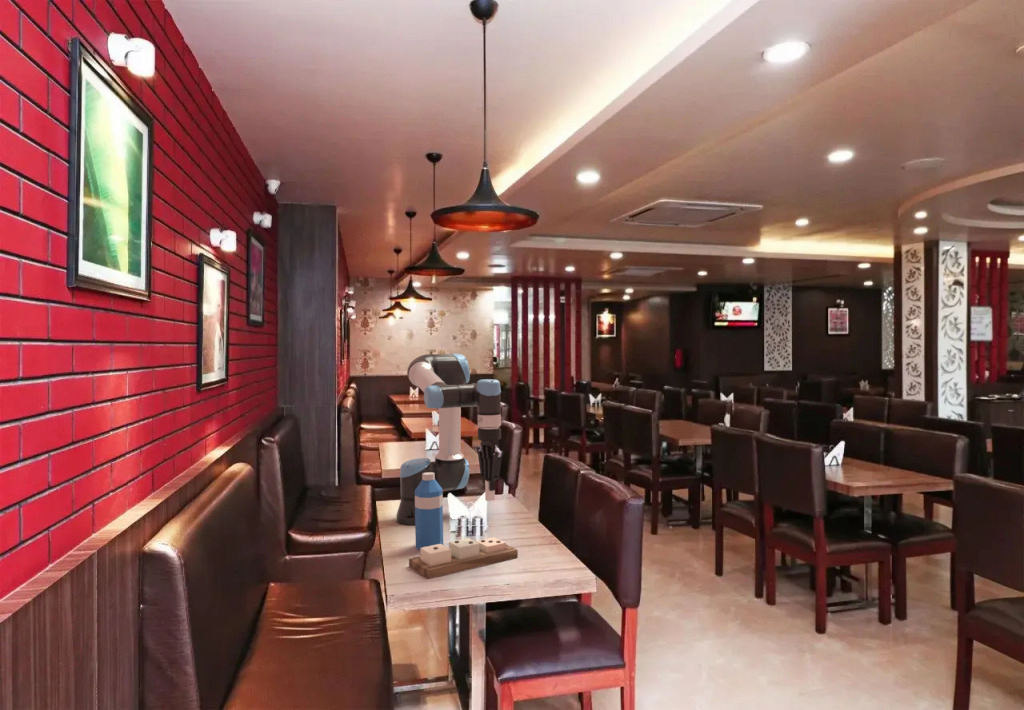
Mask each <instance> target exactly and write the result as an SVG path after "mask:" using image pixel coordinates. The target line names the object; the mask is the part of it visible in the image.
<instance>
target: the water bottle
mask: <svg viewBox="0 0 1024 710" xmlns="http://www.w3.org/2000/svg"><path fill="white" fill-rule="evenodd" d="M443 497H444V495H443V491H442V488H441V486H440V485H439V484H438V483H437V481H436V480H435V473H432V472H427V473H423V474H422V481H421V482H420V484H419V485H418V487H417V488H416V489H415V525H414V527H415V528H414V529H415V533H414V534H415V549H417V550H419V551H420V548H422V547H427V546H432V545H437V544H442V545H444V514H443V513H444V507H443V506H444V504H443V503H444V498H443Z"/></svg>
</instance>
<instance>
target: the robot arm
mask: <svg viewBox="0 0 1024 710" xmlns="http://www.w3.org/2000/svg"><path fill="white" fill-rule="evenodd" d="M406 371H407V372H406V373H407V374H406V375H407V378H408V380H409V382H411V384H412V385H413V386H416V387H418V388H419V389H420V390H421V391H422V392H423V401H424V404H425V407H426V408H427V409H435V410H438V452H437V453H436V454H435V455H434V461H431V459H429V458H428V457H419V458H413V459H409V460H406V461H405V462H402V464H401V466H400V469H399V471H400V472H399V478H400V479H399V480H400V502H399V506H398V507H397V508H398V509H397V512H396V515H395V516H396V523H399V524H401V525H409V526H415V489H416V488H417V487H418V485H419V484H420V482H421V481H422V474H423V473H427V472H432V473H435V480H436V481H437V483H438V484H439V485H440V486H441V488H442V492H443V491H444V492H445V491H455V490H460V489H461V490H462V489H463V488H465V487H466V486H467V484H468V482H469V479H470V463H469V460H467V459H466V458H465V455H464V453H463V452H462V450H461V449H462V448H461V446H462V445H461V443H462V442H461V439H462V438H461V437H462V433H461V432H462V428H461V427H462V426H461V425H462V423H461V422H462V417H461V416H462V415H461V414H462V410H461V408H469V407H470V408H471V407H474V408H475V407H476V408H477V410H476V411H477V412H476V413H477V419H476V420H477V426H478V429H477V439H478V440H479V441H480V445H479V446H476V448H475V449H476V450H475V451H476V452H477V457H478V466H479V472H480V477H481V478H482V477H483V480H484V489H485V490H484V492H485V493H484V494H485V499H484V500H485V501H487V502H490V501H495V500H496V480H499V479H500V474H501V469H502V468H501V465H502V458H503V456H504V451H503V450H501V449H500V446H499V441H500V440H501V439H502V429H501V426H502V417H501V416H502V414H501V413H502V412H501V410H502V409H501V405H502V403H501V400H502V399H501V397H502V396H501V393H502V390H501V389H502V388H501V382H500V380H498V379H491V378H486V379H479V380H478V381H477V382H475V383H474V382H473V383H470V379H471V372H470V366H469V362H468V359H467V358H466V356H465V355H464V354H461V353H435V354H430V353H427V354H422V355H419V356H418V357H415V358H414V359H413V360H412V361H411V362H410V363H409V365H408V367H407V370H406ZM468 383H469V384H468Z"/></svg>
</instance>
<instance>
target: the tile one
mask: <svg viewBox="0 0 1024 710" xmlns="http://www.w3.org/2000/svg"><path fill="white" fill-rule="evenodd" d="M419 551H420V553H419V554H420V555H419V556H420V559H421V561H422V562H423V563H425V564H427V565H428V566H430V567H431V566H435V565H440V564H444V563H448V562H451V549H449V546H448V547H447V546H445V545H444V544H443V545H442V544H437V545H432V546H427V547H422V548H420V550H419Z"/></svg>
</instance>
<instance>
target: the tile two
mask: <svg viewBox="0 0 1024 710" xmlns="http://www.w3.org/2000/svg"><path fill="white" fill-rule="evenodd" d="M448 548H449V549H451V556H453V557H455V558H457V559H459V560H461V559H466V558H470V557H474V556H479V543H477V542H476V540H473V539H472V538H470V537H466V538H461V539H456V540H451V541H448Z"/></svg>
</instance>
